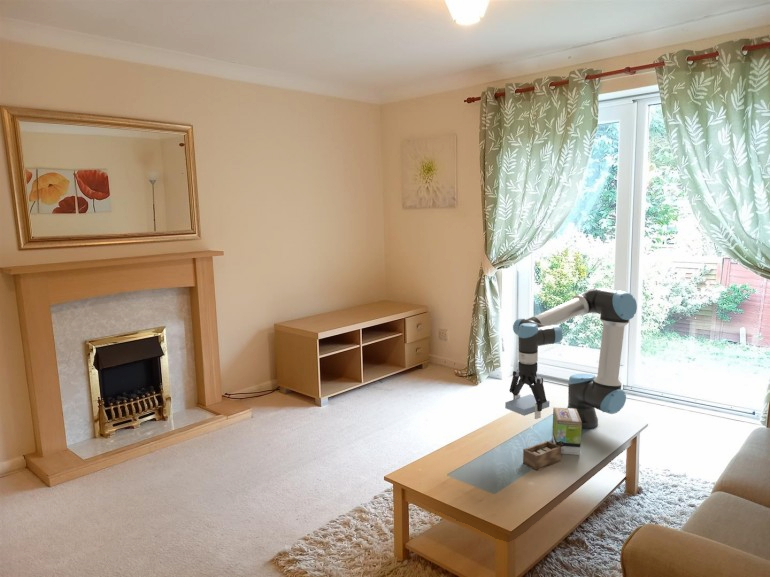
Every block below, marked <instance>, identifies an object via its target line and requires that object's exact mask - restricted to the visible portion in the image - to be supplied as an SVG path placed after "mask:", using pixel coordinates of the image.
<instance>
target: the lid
mask: <svg viewBox="0 0 770 577" xmlns="http://www.w3.org/2000/svg"><path fill="white" fill-rule="evenodd" d="M546 400H547V402H545V403H543V404H542V410H544V409H547V408H549V407H550V400H548V399H546ZM535 403H537V402H536V400H535V397H534V395H533V394H527V395H525V396H520V398H517V399H514V400H513V399H511V400H508V401H505V404H504V407H505V410H506V409H507V410H509V411H511V412H513V413H516V414H519V415H521V416H524V417H525V416H528V415H532V414H533V413H534V414H535Z"/></svg>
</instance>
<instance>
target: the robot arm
mask: <svg viewBox="0 0 770 577" xmlns="http://www.w3.org/2000/svg"><path fill="white" fill-rule="evenodd" d="M637 310H638V304H637V300H636V298H635V297H634V295H633V294H631V293H630V292H627V291H623V290H619V289H610V288H605V287H597V288H591V289H588V290H585V291H582V292H580V293H578V294H575V295H574V296H573V297H572V299H570V300H568V301H566V302H563V303H561V304H558V305H556V306H554V307H552V308H550V309H547V310H545V311H542V312H541V313H538V314H536V315H534V316H531V317H529V318H526V319H525V318H517V319H516V320H515V321H514V322H513V324H512V330H513V332H514V334H515V335H517V336H518V337H517V339H518V340H517V341H518V342H517V343H518V345H517V346H518V348H517V349H518V353H517V354H518V358H517V359H518V363H517V365H518V366H517V367H518V369H517V370H513V371H512V379H511V383H510V387H509V393H512V396H513V397H512V400H514V399H517V398H520V397H521V394H520V392H521V391H522V388H523V387H524V385H527V386H529V387H528V388H530V389H531V392H532V395H534V397H535V400H536V402H537V403H535V412H534V419H535V420H538V419H541V418H542V416H541V414H542V412H541V411H543V409H542V404H543V403H545V402H547V400H548V399H547V398H546V392H545V391H546V390H545V388H544V386H545V385H544V378H543V377H538V376H537V373H538V355H539V354H538V353H539V352H538V351H539V347H540V346H541V347H542V346H546V345H547V346H548V345H551V344H552V345H553V344H556V343H557V344H558V343H560V342H561V341H562V339H563V329H562V328H561V326H559V324H562V323H564V322H567V321H568V320H570V319H573V318H575V317H577V316H579V315H580V316H584V315H587V314H598V315H600V318H599V320H600V321H601V322H602V324H603V325H602V333H601V340H600V351H599V359H598V369H597V376H596V375H594V374H591V373H574V374H572V375H570V376H569V379H568V384H567V385H568V393H567V394H568V396H567V397H568V398H567V399H568V401H567V402H568V403H567V404H568V405H567V407H566V408H572V409H577V412H578V414H579V417H580V419H581V422H582V428H581V429H587V430H588V429H594V428H596V427H597V426H598V425H599V418H598V416H597V412H596V410H599V411H601V412H603V413H606V414H609V415H613V414H617V413H619V412H620V411H621V410H622V409H623V408H624V407H625V404H626V400H627V395H626V392H625V391H624V390H623V389H622V386H623V385H622V382H621V381H620V380H619V378H620V377H619V375H620V369H621V368H620V367H621V358H622V350H623V342H624V332H625V326H627V325H628V324H629V323H630V320H632V319H633V318H634V317H635V315H636V313H637Z"/></svg>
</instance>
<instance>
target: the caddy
mask: <svg viewBox="0 0 770 577" xmlns="http://www.w3.org/2000/svg"><path fill="white" fill-rule="evenodd" d="M561 461H562V454H561V447H560V446H558V445H556V444H554V443H553V441H552V442H551V441H549V440H545V441H542V442H540V443H537V444H534V445H531V446H530V447H529V446H528V447H526V448H523V451H522V464H524V465H525V466H527V467H528V468H531V469H532V470H535V471H539V470H542V469H544V468H547V467H549V466H550V467H551V465H554V464H557V463H560V462H561Z"/></svg>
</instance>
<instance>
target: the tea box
mask: <svg viewBox="0 0 770 577" xmlns="http://www.w3.org/2000/svg"><path fill="white" fill-rule="evenodd" d="M552 413H553V414H552V432H551V433H552V434H551V435H552V443H554V444H556V445H558V446H560V447H561V455H575V456H576V455H577V456H580V455H581V445H582V444H581V442H582V429H583V428H582V422H581V419H580V417H579V414H578V412H577V409H572V408H567V407H553V412H552Z"/></svg>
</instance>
